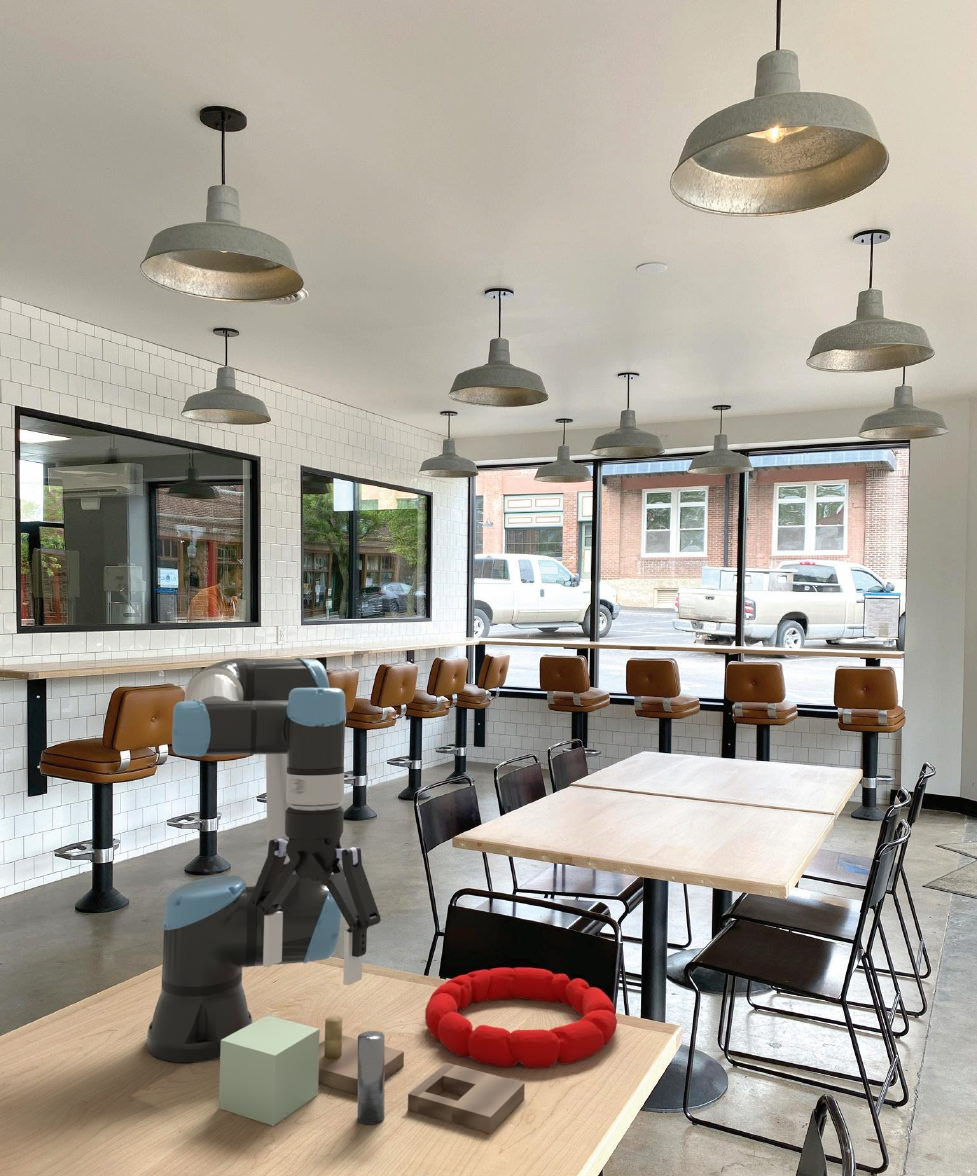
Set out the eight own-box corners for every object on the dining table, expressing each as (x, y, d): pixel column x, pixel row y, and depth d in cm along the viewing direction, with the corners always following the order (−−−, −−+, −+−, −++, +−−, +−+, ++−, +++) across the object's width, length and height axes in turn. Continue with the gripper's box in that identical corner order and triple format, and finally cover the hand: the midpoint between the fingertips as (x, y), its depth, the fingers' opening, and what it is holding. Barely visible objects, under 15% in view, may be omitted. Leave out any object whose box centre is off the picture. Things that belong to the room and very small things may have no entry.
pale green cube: (218, 1108, 119) (220, 1040, 120) (265, 1078, 127) (267, 1015, 128) (273, 1126, 115) (275, 1055, 116) (318, 1094, 123) (319, 1028, 124)
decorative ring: (609, 1051, 128) (622, 958, 157) (400, 1028, 134) (450, 943, 163) (609, 1102, 128) (622, 999, 157) (401, 1077, 134) (450, 983, 164)
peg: (352, 1119, 117) (352, 1038, 118) (368, 1108, 120) (368, 1029, 121) (373, 1126, 115) (373, 1044, 116) (389, 1115, 118) (389, 1034, 119)
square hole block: (407, 1109, 120) (408, 1093, 120) (446, 1077, 129) (446, 1062, 129) (490, 1133, 114) (490, 1117, 114) (524, 1098, 123) (524, 1083, 123)
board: (291, 1075, 129) (293, 1023, 129) (335, 1047, 137) (336, 999, 138) (363, 1096, 123) (364, 1042, 123) (403, 1065, 132) (404, 1015, 132)
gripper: (225, 801, 125) (220, 964, 123) (372, 817, 112) (369, 999, 110) (265, 795, 131) (261, 950, 129) (409, 809, 118) (407, 981, 116)
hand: (311, 973), depth 119 cm, fingers open, 13 cm apart
